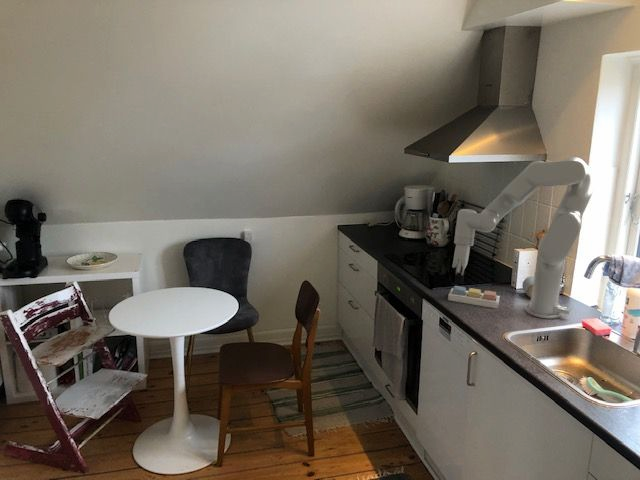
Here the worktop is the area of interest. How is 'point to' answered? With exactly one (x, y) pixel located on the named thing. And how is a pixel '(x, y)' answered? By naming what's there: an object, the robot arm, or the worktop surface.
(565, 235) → the robot arm
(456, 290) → the slate button
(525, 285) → the ceramic mug
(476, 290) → the mustard button
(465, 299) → the panel
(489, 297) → the terracotta button
